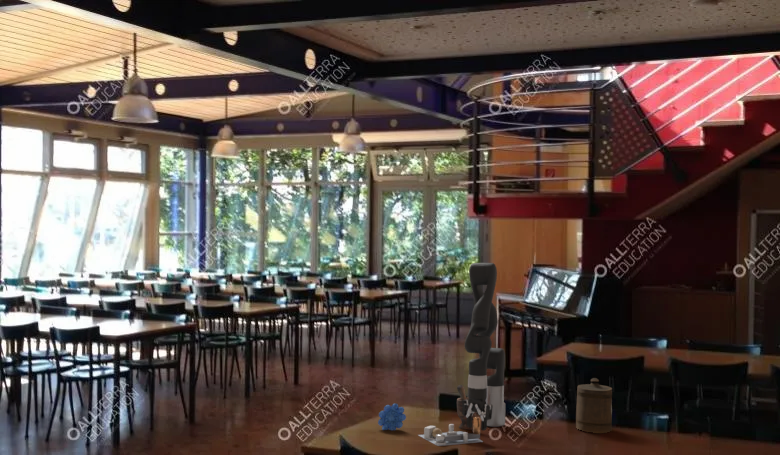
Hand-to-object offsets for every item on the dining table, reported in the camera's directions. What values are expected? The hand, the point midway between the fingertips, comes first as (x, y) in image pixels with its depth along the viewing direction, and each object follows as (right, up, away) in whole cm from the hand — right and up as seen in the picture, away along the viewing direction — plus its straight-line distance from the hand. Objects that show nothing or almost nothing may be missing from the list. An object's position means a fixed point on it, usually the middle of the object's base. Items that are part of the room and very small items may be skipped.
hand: (476, 428), depth 311 cm
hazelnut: (-15, -4, +1) cm, 16 cm away
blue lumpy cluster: (-33, -6, +16) cm, 37 cm away
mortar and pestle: (-2, -6, +20) cm, 21 cm away
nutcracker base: (-10, -6, +2) cm, 12 cm away
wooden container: (+53, -8, +28) cm, 60 cm away
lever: (-8, -4, -3) cm, 9 cm away
